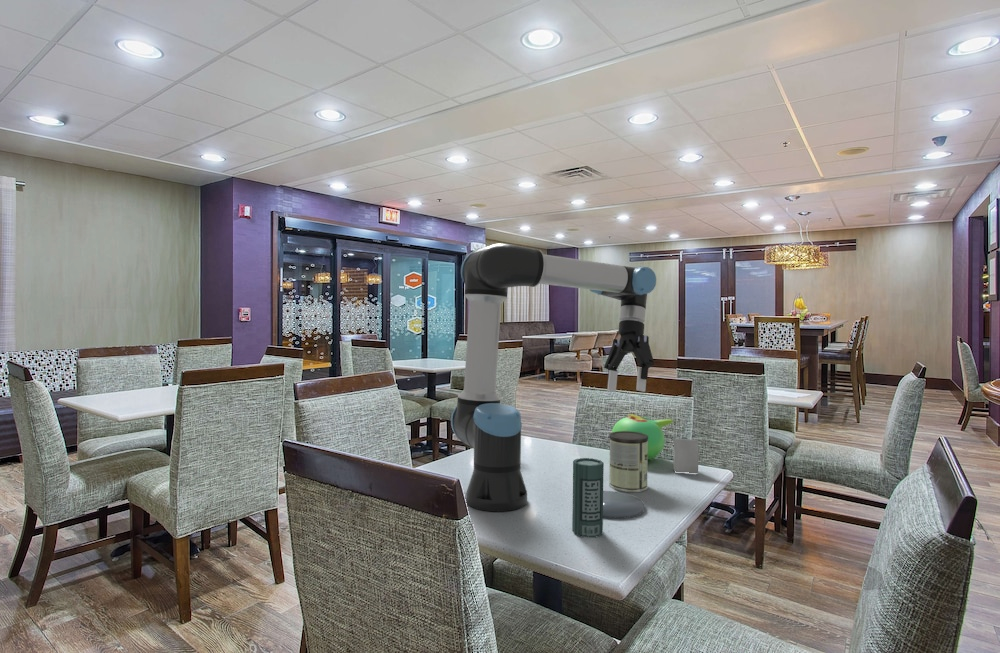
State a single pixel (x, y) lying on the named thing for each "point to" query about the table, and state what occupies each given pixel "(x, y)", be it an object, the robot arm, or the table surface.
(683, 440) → the grey box
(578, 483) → the can
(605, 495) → the stoneware plate
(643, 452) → the coffee can
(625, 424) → the toy bird
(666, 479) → the table surface
